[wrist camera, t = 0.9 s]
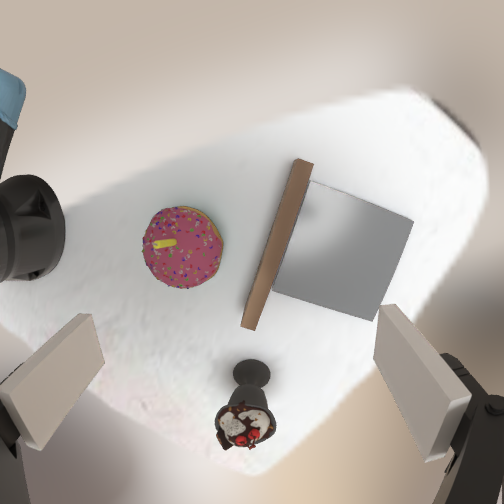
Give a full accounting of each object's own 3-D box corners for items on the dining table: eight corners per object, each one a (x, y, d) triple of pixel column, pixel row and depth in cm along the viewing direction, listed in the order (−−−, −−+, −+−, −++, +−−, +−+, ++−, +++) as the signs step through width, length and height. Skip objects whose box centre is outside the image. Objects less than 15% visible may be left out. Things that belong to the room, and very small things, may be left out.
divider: (244, 307, 38) (240, 326, 33) (294, 160, 34) (297, 158, 29) (257, 311, 38) (254, 330, 33) (308, 165, 34) (313, 163, 29)
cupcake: (153, 207, 36) (103, 222, 24) (224, 198, 35) (200, 209, 24) (164, 277, 38) (123, 318, 26) (233, 272, 37) (215, 315, 26)
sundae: (277, 353, 39) (277, 437, 25) (276, 393, 41) (274, 477, 26) (225, 352, 40) (203, 433, 25) (228, 392, 41) (210, 474, 27)
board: (272, 287, 37) (272, 290, 36) (309, 180, 34) (310, 180, 33) (370, 318, 37) (372, 321, 36) (410, 220, 34) (414, 221, 33)
